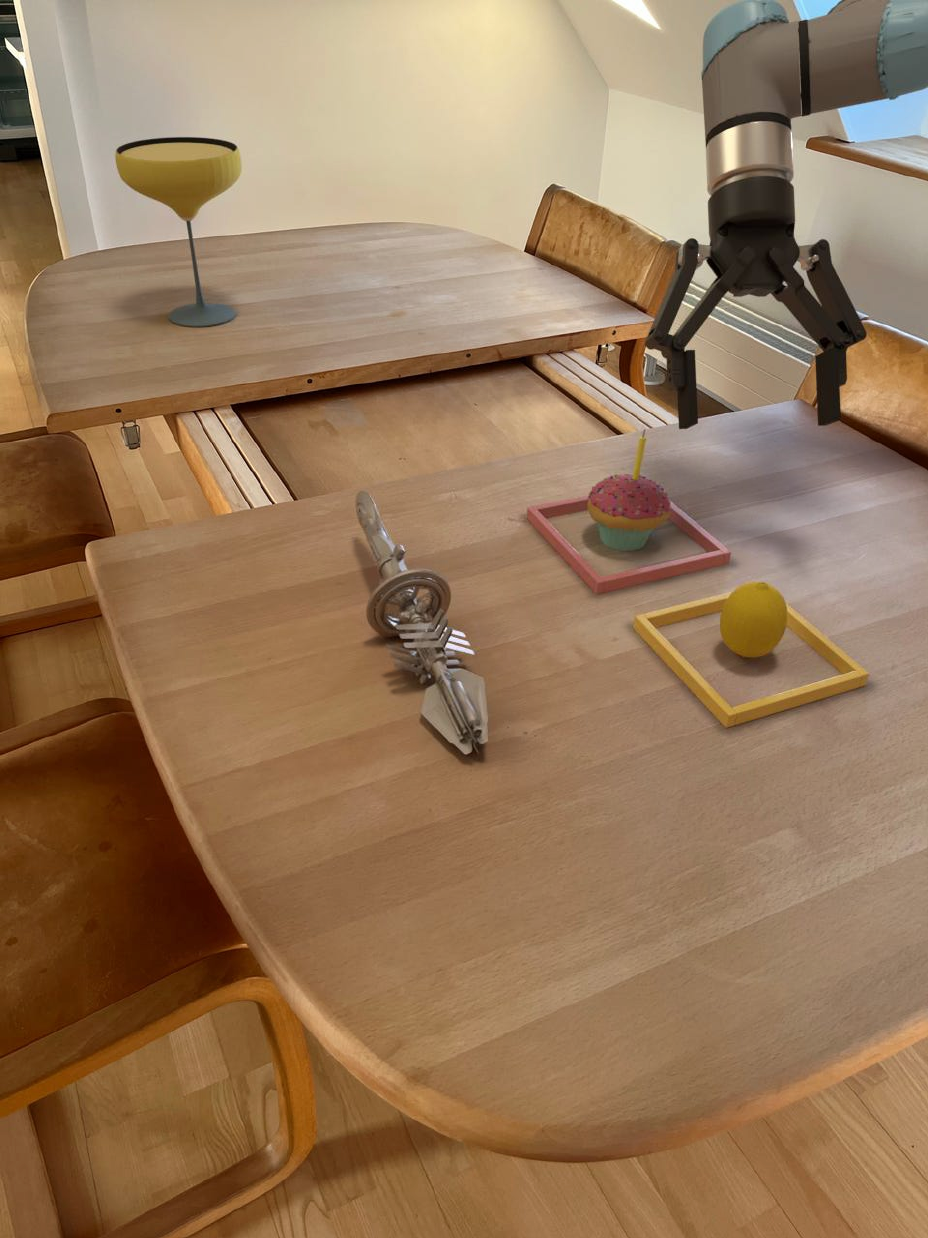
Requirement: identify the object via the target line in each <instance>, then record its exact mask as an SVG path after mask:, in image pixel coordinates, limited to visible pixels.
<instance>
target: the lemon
mask: <svg viewBox="0 0 928 1238" xmlns="http://www.w3.org/2000/svg"><path fill="white" fill-rule="evenodd" d="M731 592H732V593H731V594H730V596H729V597H728V599H727V600H726V602H725V605H724V607H723V609H722V611H720V618H719V630H720V631H719V632H720V635H721V638H722V640H723V642H724V644H725V645H726V646H727V648H728V649H729V651H732V652H733V653H734V654H736V655H739V656H741V657H742V658H759V657H760V658H761V657H763V656H765V655H767V654H769V653H770V652H772V651H773V650H775V648H776V647H777V646H778V645H779V643H780V642H781V640H782V638H783V637H784V634H785V632H786V629H787V625H786V623H787V606H786V604H787V602H786V600H785V598H784V596H783V595H782V593H781V592H780V591H779V590H778V588H776V587H775V586H773V585H772V584H770V583H768V582H765V581H761V580H759V581H758V580H757V581H756V580H755V581H749V582H745V583H743V584H741V585H739V586H737V587H736V588H735V589H733V590H732V591H731Z"/></svg>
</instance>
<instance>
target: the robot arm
mask: <svg viewBox="0 0 928 1238" xmlns="http://www.w3.org/2000/svg"><path fill="white" fill-rule="evenodd" d="M705 27H706V28H705V30H704V33H703V37H702V70H701V72H700V73H701V76H700V77H701V88H702V105H703V124H704V138H705V141H704V142H705V165H706V166H705V168H706V188H707V189H706V190H707V194H709V196H710V197H709V198H708V199H707V219H708V236H709V245H708V244H700V243H699V241H698V240H697V239H696V238H694V237H690V238H687V240H686V241H685V242H684V243H683V244H682V245H681V246H680V247H679V248H678V249H677V251H676V253H675V265H674V273H673V276H672V278H671V280H670V283H669V285H668V287H667V290H666V292H665V294H664V296H663V298H662V301H661V303H660V306H659V308H658V310H657V313H656V315H655V317H654V319H653V322H652V324H651V327H650V329H649V331H648V333H647V336H646V338H645V341H644V345H645V347H646V349H648V350H653V351H654V350H655V351H658V352H660V354H661V357H663V358H664V359H665V360H666V379H667V380H666V381H667V382H666V383H667V387H668V390H669V391H670V392H675V391H677V392H676V393H677V415H678V418H677V419H678V429H679V430H687V429H690V428H691V427H694V426H696V425H697V424H699V414H698V413H699V412H698V390H697V367H696V365H697V364H696V363H697V362H696V350H695V349H685V348H686V347H687V346H688V344H689V343H690V342H691V340H692V339H693V338H694V336H695V335H696V334H697V333H698V331H699V329H700V328H701V327H703V324H704V323H705V321H706V320H707V319H708V318H709V316H710V315H711V314H712V313H713V311H714V310H715V309H716V307H717V306H718V304H719V303H720V302H721V301H722V299H723V298H724V297H725V295H726V294H728V293H730V294H732V296H733V297H735V298H738V297H739V298H743V297H745V296H748V295H749V296H754V297H757V298H761V297H763V298H764V297H765V298H766V297H767V296H768V295H771V296H772V297H773V298H774V299H775V300H776V301H777V302H779V303H782V304H783V305H784V306H785V307H786V309H787V310H788V311H789V312H790V314H791V315H792V316H793V317H794V318H795V320H796V321H797V322H798V323H799V325H801V327H802V328H803V329H804V331H806V333H807V334H808V335H809V336H810V337H811V338H812V340H813V341H814V342H815V343H816V345H817V346H818V347H819V348H820V349H821V350H822V352H820V353H818V354H816V355H815V356H814V359H815V382H816V383H815V384H816V385H815V387H816V410H817V427H826V426H828V425H829V426H830V425H831V424H834V423H837V422H840V421H842V414H841V412H842V411H841V387H842V386H845V385H846V383H847V381H848V373H847V372H848V370H847V369H848V367H847V365H848V364H847V363H848V362H847V351H848V349H849V348H850V347H852V346H854V345H856V344H858V343H860V342H862V341H864V340H865V339H866V338H867V335H868V333H867V330H866V328H865V326H864V324H863V322H862V320H861V318H860V316H859V314H858V312H857V310H856V308H855V306H854V304H853V302H852V301H851V298H850V296H849V294H848V292H847V290H846V288H845V287H844V284H843V282H842V280H841V279H840V276H839V274H838V273H837V271H836V268H835V266H834V265H833V261H832V260H833V259H832V253H831V247H830V246H831V245H830V242H829V241H828V240H827V239H825V238H821V239H819V240H817V241H816V242H815V243H813V244H805V245H799V244H798V243H797V240H796V238H795V228H796V227H795V226H796V206H795V205H796V204H795V202H796V201H795V187H794V185H793V184H792V183H791V182H792V181H793V179H794V173H795V171H794V155H793V154H794V152H793V134H792V119H795V118H799V117H807V116H811V115H812V114H818V113H822V112H823V113H824V112H828V111H832V110H833V111H834V110H837V109H843V108H847V107H853V106H859V105H863V104H868V103H872V102H873V103H874V102H877V101H882V100H883V101H884V100H889V101H892V100H896V99H897V98H898V99H899V97H900V96H904V95H908V94H912V93H915V92H919V91H923V90H925V89H927V88H928V0H839V1H838V2H837V3H836V5H835V6H833V7H831V8H830V10H829V11H828V12H827V14H824V15H821V16H817V17H814V18H810V19H803V20H795V21H791V22H790V20H789V18H788V14H787V11H786V8H785V7H784V6H783V5H782V4H781V3H780V2H778V1H776V0H740V1H737V2H734V3H732V4H730V5H728V6H726V7H725V8H723V9H722V10H720V11H719V12H717V13H716V14H715V16H713V17H712V19H711V20H710V21H709V23H708V24H707V25H706V26H705ZM704 261H706V264H707V266H708V267H709V268H710V270H711V271H712V272H713V274H714V275H715V276H716V278H714V280H713V281H712V283H711V284H710V286H709V287H708V288H707V289H706V291H705V292H704V294H703V296H702V297H701V298H700V299H699V301H698V302H697V304H695V306H694V307H693V308H692V310H691V312H690V313H689V314H688V316H686V317H685V319H684V320H683V321H682V323H681V324H680V326H679V327H678V329H677V330H676V331H675V332H674V334H673V335H672V334H670V331H671V329H672V326H673V324H674V322H675V319H676V318H677V315H678V313H679V310H680V307H681V305H682V304H683V301H684V299H685V296H686V294H687V292H688V290H689V287H690V285H691V282H692V280H693V278H694V275H695V274H696V271H697V270H698V269H700V267H701V266H702V265H703V263H704ZM797 262H798V263H799V264H800V269H801V270H802V271H805V272H806V276H807V279H808V281H809V283H810V286H811V287H812V290H813V291H814V294H815V296H816V297H815V296H814V295H813V294H812V292H810V290H809V289H808V288H807V287H806V285H805V280H804V278H803V277H802V276H801V274H800V273H799V272H798V270H797V269H796V268H795V267H794V266H795V265H796V263H797ZM784 282H785V284H786V285H785V284H784ZM816 298H817V299H818V300H817V299H816Z"/></svg>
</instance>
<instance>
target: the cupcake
mask: <svg viewBox="0 0 928 1238" xmlns="http://www.w3.org/2000/svg"><path fill="white" fill-rule="evenodd" d="M645 435H646V429H645V428H643V430H642V435H641V436H639V439H638V444H637V450H636V454H635V455H636V456H635V459H634V466H633V472H632V474H631V473H624V474H615V475H610V476H609V477H608V476H607V477H605V478H603V480H600V481H598V482H597V483H595V486H592V487H591V490H590V492H589V493H588V495H587V496H588V498H589V500H588V503H587V508H588V510H587V511H588V513H589V515H590V517H591V519H592V520H593V521H594V522H596V524H597V528H598V532H599V537H600V538H599V539H600V541H601V542H602V543H603V544H604V545H605V546H606V547H608V548H610V549H612V550H616V551H621V552H633V551H638V550H639V549H641V548H643V547H644V546H645V544H646V543H647V541H648V539H649V538H650V535H651V534H652V532H653V530H654V529H655V528H658V527H660V525H662V524H664V523H666V521H668V520H669V515H670V509H671V507H670V501H671V500H670V497H669V495H668V492H666V491H665V489H664V487H661V484H659V483H657V482H656V481H655V480H652V479H650V478H647V477H646V476H643V475H641V474H640V473H641V469H642V468H641V467H642V462H643V458H644V457H643V456H644V451H645V445H646V440H647V437H645ZM669 500H670V501H669Z"/></svg>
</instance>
